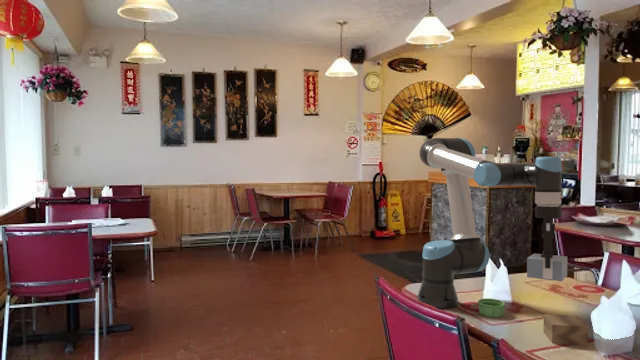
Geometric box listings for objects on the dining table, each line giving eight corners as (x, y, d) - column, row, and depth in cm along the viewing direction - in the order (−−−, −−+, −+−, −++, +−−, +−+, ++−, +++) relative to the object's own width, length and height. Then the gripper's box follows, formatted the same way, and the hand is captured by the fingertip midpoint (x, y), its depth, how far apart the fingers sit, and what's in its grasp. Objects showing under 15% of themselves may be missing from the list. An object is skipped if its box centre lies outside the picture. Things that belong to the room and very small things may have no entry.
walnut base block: (551, 344, 146) (552, 324, 146) (543, 332, 156) (543, 313, 156) (588, 346, 144) (588, 327, 144) (577, 334, 154) (577, 316, 154)
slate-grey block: (526, 277, 153) (527, 258, 152) (533, 271, 161) (533, 253, 161) (562, 281, 147) (562, 261, 147) (567, 275, 155) (567, 256, 155)
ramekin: (502, 319, 167) (502, 307, 167) (475, 315, 172) (475, 303, 172) (506, 312, 175) (506, 300, 175) (480, 308, 180) (480, 297, 179)
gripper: (562, 208, 141) (561, 283, 142) (560, 203, 162) (560, 268, 163) (534, 207, 144) (533, 281, 145) (536, 202, 165) (535, 266, 166)
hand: (547, 274), depth 154 cm, fingers closed on slate-grey block, 11 cm apart
